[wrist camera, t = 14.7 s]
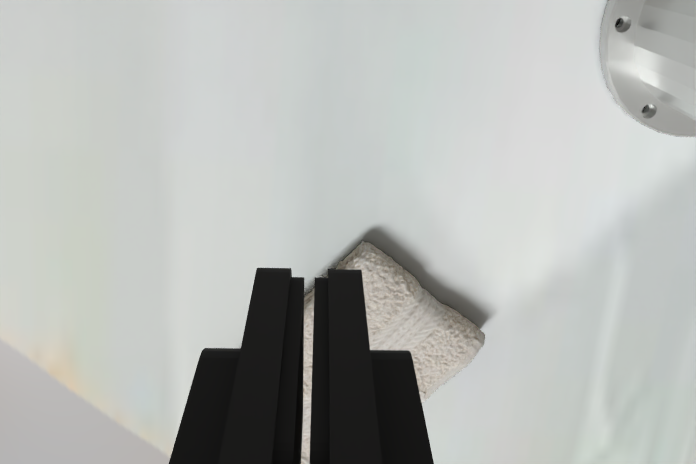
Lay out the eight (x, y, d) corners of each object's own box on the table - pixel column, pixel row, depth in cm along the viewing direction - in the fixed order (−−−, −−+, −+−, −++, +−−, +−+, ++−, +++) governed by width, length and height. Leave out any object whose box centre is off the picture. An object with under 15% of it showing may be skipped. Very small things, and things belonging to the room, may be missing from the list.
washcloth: (202, 386, 46) (194, 416, 43) (363, 227, 40) (366, 249, 37) (320, 459, 50) (320, 490, 47) (483, 323, 44) (493, 350, 41)
